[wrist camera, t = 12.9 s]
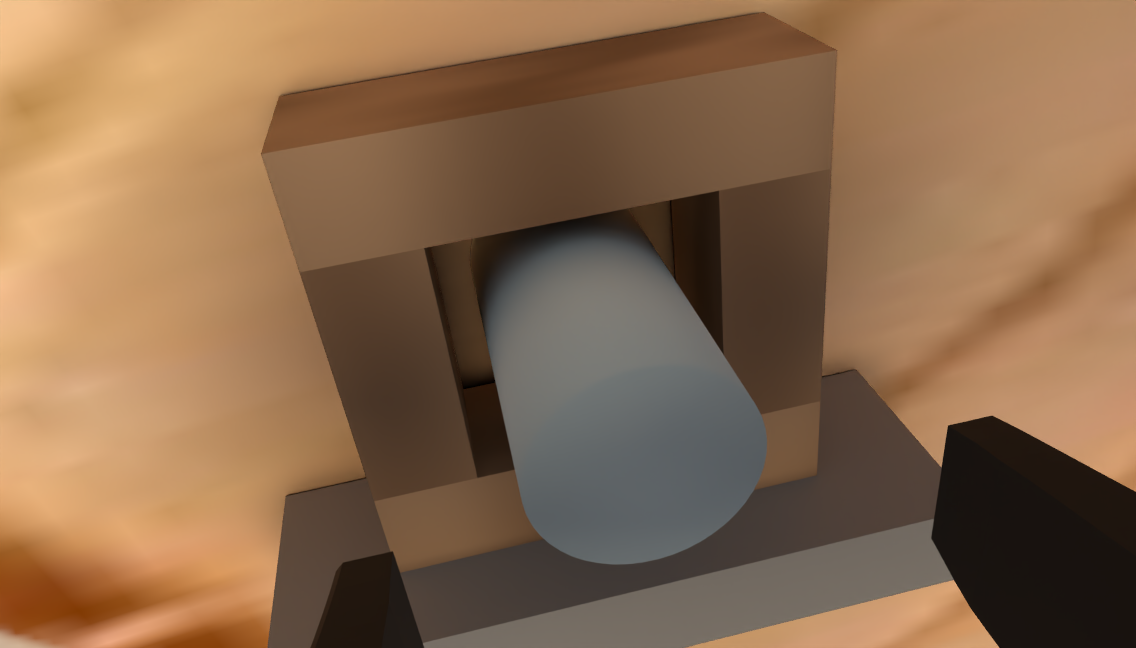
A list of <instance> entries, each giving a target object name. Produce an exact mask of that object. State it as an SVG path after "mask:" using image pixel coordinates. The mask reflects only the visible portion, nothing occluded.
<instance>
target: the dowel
mask: <svg viewBox="0 0 1136 648" xmlns="http://www.w3.org/2000/svg"><path fill="white" fill-rule="evenodd" d="M470 266H471V272H472V277H473V282H474V286H475V291H476V295H477V300H478V304H479V309H480V313H481V318H482V323H483V327H484V332H485V336H486V341H487V345H488V350H489V354H490V359H491V363H492V368H493V373H494V377H495V382H496V386H497V391H498V395H499V400H500V404H501V409H502V413H503V418H504V423H505V427H506V432H507V436H508V441H509V445H510V450H511V454H512V459H513V463H514V468H515V473H516V477H517V482H518V486H519V491H520V495H521V500H522V504H523V507H524V510H525V513H526V515H527V517H528V519H529V521H530V523H531V524H532V526H533V527H534V529H535V530H536V531H537V532H538V533H539V535H540V536H541V537H542V538H544V539H545V540H546V541H547V542H548V543H549V544H551V545H552V546H554V547H555V548H557V549H558V550H560V551H562V552H564V553H566V554H568V555H570V556H572V557H575V558H579V559H582V560H585V561H590V562H595V563H601V564H634V563H642V562H647V561H652V560H657V559H660V558H664V557H667V556H670V555H673V554H676V553H678V552H680V551H683V550H685V549H688V548H689V547H691V546H693V545H695V544H697V543H699V542H701V541H702V540H704V539H706V538H707V537H709V536H710V535H712V534H713V533H715V532H716V531H717V530H718V529H720V528H721V527H722V526H723V525H725V524H726V523H727V522H728V521H729V520H730V519H731V518H732V517H733V516H734V515H735V514H736V513H737V512H738V511H739V510H740V509H741V507H742V506H743V505H744V504H745V503H746V501H747V500H748V498H749V497H750V495H751V494H752V492H753V491H754V489H755V487H756V485H757V483H758V481H759V479H760V476H761V473H762V470H763V468H764V464H765V459H766V454H767V436H766V428H765V425H764V422H763V418H762V416H761V414H760V412H759V410H758V408H757V406H756V404H755V403H754V401H753V400H752V398H751V397H750V395H749V393H748V392H747V390H746V389H745V387H744V386H743V384H742V383H741V381H740V380H739V378H738V377H737V375H736V373H735V372H734V370H733V369H732V367H731V366H730V364H729V363H728V361H727V360H726V358H725V356H724V355H723V353H722V352H721V350H720V349H719V347H718V346H717V344H716V343H715V341H714V339H713V338H712V336H711V335H710V333H709V332H708V330H707V329H706V327H705V326H704V324H703V323H702V321H701V319H700V318H699V316H698V315H697V313H696V312H695V310H694V309H693V307H692V306H691V304H690V302H689V301H688V299H687V298H686V296H685V295H684V293H683V292H682V290H681V289H680V287H679V285H678V284H677V282H676V281H675V279H674V278H673V276H672V275H671V273H670V272H669V270H668V269H667V267H666V265H665V264H664V262H663V261H662V259H661V258H660V256H659V255H658V253H657V252H656V250H655V248H654V247H653V245H652V244H651V242H650V241H649V239H648V238H647V236H646V235H645V233H644V232H643V230H642V228H641V227H640V225H639V224H638V222H637V221H636V219H635V218H634V216H633V215H632V213H631V211H630V210H629V208H627V209H622V210H617V211H612V212H607V213H602V214H597V215H591V216H586V217H581V218H576V219H571V220H566V221H561V222H556V223H550V224H545V225H540V226H535V227H530V228H525V229H520V230H514V231H509V232H504V233H499V234H494V235H489V236H484V237H479V238H473V241H472V244H471V252H470Z"/></svg>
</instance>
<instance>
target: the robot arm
mask: <svg viewBox="0 0 1136 648" xmlns="http://www.w3.org/2000/svg"><path fill="white" fill-rule="evenodd" d="M931 539H932V541H933V543H934V544H935V546H936V548H937V550H938V552H939V554H940V555H941V557H942V559H943V561H944V563H945V565H946V566H947V568H948V570H949V572H950V574H951V576H952V577H953V579H954V581H955V582H956V584H957V586H958V587H959V589H960V591H961V593H962V594H963V596H964V598H965V599H966V601H967V603H968V604H969V606H970V608H971V609H972V611H973V612H974V613H975V615H976V616H977V618H978V619H979V620H980V622H981V623H982V625H983V626H984V627H985V629H986V630H987V631H988V633H989V634H990V635H991V637H992V638H993V640H994V641H995V642H996V644H997V645H998V646H999V648H1136V492H1135V491H1133V490H1131V489H1129V488H1127V487H1126V486H1124V485H1122V484H1120V483H1118V482H1116V481H1114V480H1112V479H1111V478H1109V477H1107V476H1105V475H1103V474H1101V473H1099V472H1098V471H1096V470H1094V469H1092V468H1090V467H1088V466H1087V465H1085V464H1083V463H1081V462H1079V461H1077V460H1075V459H1074V458H1072V457H1070V456H1068V455H1066V454H1064V453H1063V452H1061V451H1059V450H1057V449H1055V448H1053V447H1051V446H1050V445H1048V444H1046V443H1044V442H1042V441H1040V440H1038V439H1037V438H1035V437H1033V436H1031V435H1029V434H1027V433H1025V432H1023V431H1022V430H1020V429H1018V428H1016V427H1014V426H1012V425H1010V424H1008V423H1006V422H1004V421H1002V420H1000V419H998V418H996V417H994V416H988V417H984V418H979V419H975V420H971V421H966V422H962V423H957V424H953V425H948V429H947V436H946V443H945V449H944V456H943V462H942V469H941V476H940V482H939V489H938V495H937V502H936V509H935V515H934V522H933V529H932V535H931ZM310 648H424V645H423V642H422V639H421V636H420V633H419V630H418V627H417V624H416V621H415V618H414V614H413V611H412V608H411V605H410V602H409V599H408V596H407V593H406V590H405V587H404V583H403V580H402V577H401V574H400V571H399V568H398V565H397V562H396V559H395V556H394V553H393V551H392V552H387V553H383V554H378V555H374V556H369V557H365V558H361V559H356V560H352V561H347V562H343V563H342V564H341V566H340V567H339V568H338V569H337V571H336V573H335V576H334V579H333V583H332V586H331V589H330V593H329V596H328V599H327V602H326V605H325V608H324V611H323V614H322V617H321V620H320V623H319V625H318V628H317V631H316V634H315V637H314V639H313V642H312V645H311V647H310Z"/></svg>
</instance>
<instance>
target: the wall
mask: <svg viewBox="0 0 1136 648" xmlns="http://www.w3.org/2000/svg"><path fill="white" fill-rule="evenodd" d="M941 469H942V468H941V467H940V466H939V464H938V463H937V462H936V461H935V460H934V459H933V458H932V456H931V455H930V454H929V453H928V452H927V451H926V449H925V448H924V447H923V446H922V445H921V444H920V443H919V441H918V440H917V439H916V438H915V437H914V436H913V435H912V433H911V432H910V431H909V430H908V429H907V428H906V426H905V425H904V424H903V423H902V422H901V421H900V420H899V418H898V417H897V416H896V415H895V414H894V413H893V411H892V410H891V409H890V408H889V407H888V406H887V405H886V403H885V402H884V401H883V400H882V399H881V398H880V396H879V395H878V394H877V393H876V392H875V391H874V390H873V388H872V387H871V386H870V385H869V384H868V383H867V381H866V380H865V379H864V378H863V377H862V376H861V375H860V373H859V372H858V371H857V370H854V371H850V372H845V373H840V374H836V375H831V376H827V377H822V378H821V398H820V419H819V440H818V461H817V475H816V476H812V477H808V478H804V479H799V480H795V481H791V482H786V483H782V484H778V485H774V486H769V487H765V488H761V489H756V490H754V491H753V492H752V494H751V495H750V497H749V498H748V500H747V501H746V503H745V504H744V505H743V506H742V507H741V509H740V510H739V511H738V512H737V513H736V514H735V515H734V516H733V517H732V518H731V519H730V520H729V521H728V522H727V523H726V524H725V525H723V526H722V527H721V528H720V529H718V530H717V531H716V532H715V533H713V534H712V535H710V536H709V537H707V538H706V539H704V540H702V541H701V542H699V543H697V544H695V545H693V546H691V547H689V548H688V549H685V550H683V551H680V552H678V553H676V554H673V555H670V556H667V557H664V558H660V559H657V560H652V561H647V562H642V563H634V564H601V563H595V562H590V561H585V560H582V559H579V558H575V557H572V556H570V555H568V554H566V553H564V552H562V551H560V550H558V549H557V548H555V547H554V546H552V545H551V544H549V543H548V542H547V541H546V540H545V539H543V540H538V541H534V542H530V543H525V544H521V545H517V546H513V547H508V548H504V549H500V550H496V551H491V552H487V553H483V554H478V555H474V556H470V557H466V558H461V559H457V560H453V561H448V562H444V563H440V564H436V565H431V566H427V567H423V568H419V569H414V570H410V571H406V572H401V573H400V574H401V577H402V580H403V583H404V587H405V590H406V593H407V596H408V599H409V602H410V605H411V608H412V611H413V614H414V618H415V621H416V624H417V627H418V630H419V633H420V636H421V639H422V642H423V645H424V648H685V647H689V646H693V645H697V644H701V643H705V642H709V641H713V640H717V639H721V638H725V637H729V636H733V635H737V634H740V633H744V632H748V631H752V630H756V629H760V628H764V627H768V626H772V625H776V624H780V623H784V622H788V621H792V620H796V619H800V618H804V617H808V616H812V615H816V614H820V613H824V612H828V611H832V610H836V609H840V608H844V607H848V606H852V605H856V604H860V603H864V602H868V601H872V600H876V599H880V598H884V597H888V596H892V595H896V594H900V593H903V592H907V591H911V590H915V589H919V588H923V587H927V586H931V585H935V584H939V583H943V582H947V581H951V580H954V579H953V577H952V576H951V574H950V572H949V570H948V568H947V566H946V565H945V563H944V561H943V559H942V557H941V555H940V554H939V552H938V550H937V548H936V546H935V544H934V543H933V541H932V539H931V535H932V529H933V522H934V515H935V509H936V502H937V495H938V489H939V482H940V476H941ZM387 552H390V549H389V546H388V543H387V539H386V536H385V533H384V530H383V527H382V524H381V521H380V518H379V515H378V512H377V509H376V506H375V503H374V499H373V496H372V493H371V490H370V487H369V484H368V481H367V478H366V479H362V480H357V481H353V482H348V483H344V484H339V485H335V486H330V487H326V488H321V489H317V490H312V491H308V492H303V493H299V494H294V495H290V496H286V499H285V507H284V515H283V524H282V532H281V540H280V548H279V557H278V565H277V573H276V582H275V590H274V598H273V606H272V615H271V623H270V631H269V640H268V648H310V647H311V645H312V642H313V639H314V637H315V634H316V631H317V628H318V625H319V623H320V620H321V617H322V614H323V611H324V608H325V605H326V602H327V599H328V596H329V593H330V589H331V586H332V583H333V579H334V576H335V573H336V571H337V569H338V568H339V567H340V566H341V564H342V563H343V562H347V561H352V560H356V559H361V558H365V557H369V556H374V555H378V554H383V553H387Z"/></svg>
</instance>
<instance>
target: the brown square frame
mask: <svg viewBox="0 0 1136 648" xmlns="http://www.w3.org/2000/svg"><path fill="white" fill-rule="evenodd" d="M836 62H837V50H835V49H834V48H832V47H830V46H828V45H826V44H824V43H822V42H820V41H818V40H816V39H814V38H812V37H810V36H808V35H807V34H805V33H803V32H801V31H799V30H797V29H795V28H793V27H791V26H789V25H787V24H785V23H783V22H781V21H780V20H778V19H776V18H774V17H772V16H770V15H768V14H766V13H764V12H763V13H757V14H751V15H746V16H740V17H734V18H728V19H722V20H717V21H711V22H705V23H699V24H694V25H688V26H682V27H676V28H671V29H665V30H659V31H653V32H648V33H642V34H636V35H630V36H624V37H619V38H613V39H607V40H601V41H596V42H590V43H584V44H578V45H573V46H567V47H561V48H555V49H550V50H544V51H538V52H532V53H526V54H521V55H515V56H509V57H503V58H498V59H492V60H486V61H480V62H475V63H469V64H463V65H457V66H452V67H446V68H440V69H434V70H428V71H423V72H417V73H411V74H405V75H400V76H394V77H388V78H382V79H377V80H371V81H365V82H359V83H354V84H348V85H342V86H336V87H330V88H325V89H319V90H313V91H307V92H302V93H296V94H290V95H284V96H279V98H278V101H277V105H276V108H275V111H274V114H273V117H272V121H271V124H270V127H269V130H268V134H267V137H266V140H265V143H264V146H263V150H262V153H261V155H262V158H263V161H264V164H265V167H266V170H267V173H268V177H269V180H270V183H271V186H272V189H273V192H274V195H275V198H276V201H277V204H278V207H279V210H280V213H281V217H282V220H283V223H284V226H285V229H286V232H287V235H288V238H289V241H290V244H291V247H292V250H293V253H294V256H295V260H296V263H297V266H298V269H299V272H300V275H301V278H302V281H303V284H304V287H305V290H306V293H307V296H308V300H309V303H310V306H311V309H312V312H313V315H314V318H315V321H316V324H317V327H318V330H319V333H320V336H321V340H322V343H323V346H324V349H325V352H326V355H327V358H328V361H329V364H330V367H331V370H332V373H333V376H334V380H335V383H336V386H337V389H338V392H339V395H340V398H341V401H342V404H343V407H344V410H345V413H346V416H347V420H348V423H349V426H350V429H351V432H352V435H353V438H354V441H355V444H356V447H357V450H358V453H359V456H360V459H361V463H362V466H363V469H364V472H365V475H366V478H367V481H368V484H369V487H370V490H371V493H372V496H373V499H374V503H375V506H376V509H377V512H378V515H379V518H380V521H381V524H382V527H383V530H384V533H385V536H386V539H387V543H388V546H389V549H390V552H392V551H393V553H394V556H395V559H396V562H397V565H398V568H399V571H400V573H401V572H406V571H410V570H414V569H419V568H423V567H427V566H431V565H436V564H440V563H444V562H448V561H453V560H457V559H461V558H466V557H470V556H474V555H478V554H483V553H487V552H491V551H496V550H500V549H504V548H508V547H513V546H517V545H521V544H525V543H530V542H534V541H538V540H543V539H544V538H542V537H541V536H540V535H539V533H538V532H537V531H536V530H535V529H534V527H533V526H532V524H531V523H530V521H529V519H528V517H527V515H526V513H525V510H524V507H523V504H522V500H521V495H520V491H519V486H518V482H517V477H516V473H515V468H514V463H513V459H512V454H511V450H510V445H509V441H508V436H507V432H506V427H505V423H504V418H503V413H502V409H501V404H500V400H499V395H498V391H497V386H496V383H492V384H487V385H482V386H478V387H473V388H468V389H464V390H463V386H462V382H461V377H460V373H459V369H458V364H457V360H456V356H455V351H454V347H453V342H452V338H451V334H450V329H449V325H448V321H447V316H446V312H445V307H444V303H443V299H442V294H441V290H440V286H439V281H438V277H437V272H436V268H435V264H434V259H433V255H432V250H431V247H432V246H438V245H443V244H448V243H453V242H458V241H463V240H468V239H473V238H479V237H484V236H489V235H494V234H499V233H504V232H509V231H514V230H520V229H525V228H530V227H535V226H540V225H545V224H550V223H556V222H561V221H566V220H571V219H576V218H581V217H586V216H591V215H597V214H602V213H607V212H612V211H617V210H622V209H627V208H632V207H638V206H643V205H648V204H653V203H658V202H663V201H668V200H671V207H672V224H673V241H674V258H675V275H676V282H677V284H678V285H679V287H680V289H681V290H682V292H683V293H684V295H685V296H686V298H687V299H688V301H689V302H690V304H691V306H692V307H693V309H694V310H695V312H696V313H697V315H698V316H699V318H700V319H701V321H702V323H703V324H704V326H705V327H706V329H707V330H708V332H709V333H710V335H711V336H712V338H713V339H714V341H715V343H716V344H717V346H718V347H719V349H720V350H721V352H722V353H723V355H724V356H725V358H726V360H727V361H728V363H729V364H730V366H731V367H732V369H733V370H734V372H735V373H736V375H737V377H738V378H739V380H740V381H741V383H742V384H743V386H744V387H745V389H746V390H747V392H748V393H749V395H750V397H751V398H752V400H753V401H754V403H755V404H756V406H757V408H758V410H759V412H760V414H761V416H762V418H763V422H764V425H765V428H766V436H767V454H766V459H765V464H764V468H763V470H762V473H761V476H760V479H759V481H758V483H757V485H756V487H755V489H754V490H756V489H761V488H765V487H769V486H774V485H778V484H782V483H786V482H791V481H795V480H799V479H804V478H808V477H812V476H816V475H817V461H818V440H819V419H820V398H821V377H822V356H823V335H824V314H825V293H826V272H827V251H828V230H829V209H830V188H831V167H832V146H833V125H834V104H835V83H836Z"/></svg>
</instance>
